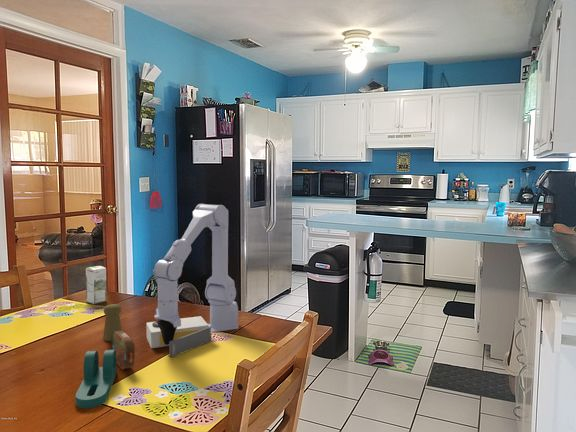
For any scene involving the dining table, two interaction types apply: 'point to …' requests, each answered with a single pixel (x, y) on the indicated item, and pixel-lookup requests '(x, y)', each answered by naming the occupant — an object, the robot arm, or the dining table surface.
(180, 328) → the camera housing
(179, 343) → the side door
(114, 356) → the bracket
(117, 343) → the brown rounded piece
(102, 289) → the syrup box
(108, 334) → the olive flared pepper mill
